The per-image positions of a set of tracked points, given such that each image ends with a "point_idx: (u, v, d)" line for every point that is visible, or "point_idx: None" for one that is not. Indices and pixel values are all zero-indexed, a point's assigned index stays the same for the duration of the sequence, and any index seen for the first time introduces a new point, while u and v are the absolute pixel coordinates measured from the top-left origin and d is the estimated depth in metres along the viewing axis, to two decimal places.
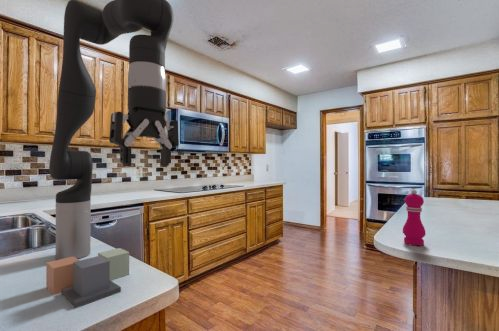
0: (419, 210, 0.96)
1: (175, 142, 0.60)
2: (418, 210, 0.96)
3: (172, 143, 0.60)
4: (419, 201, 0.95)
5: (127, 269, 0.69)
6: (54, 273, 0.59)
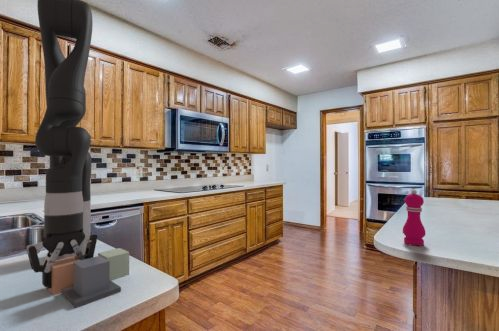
0: (419, 210, 0.96)
1: (89, 255, 0.66)
2: (418, 210, 0.96)
3: (86, 256, 0.66)
4: (419, 201, 0.95)
5: (127, 269, 0.69)
6: (54, 273, 0.59)
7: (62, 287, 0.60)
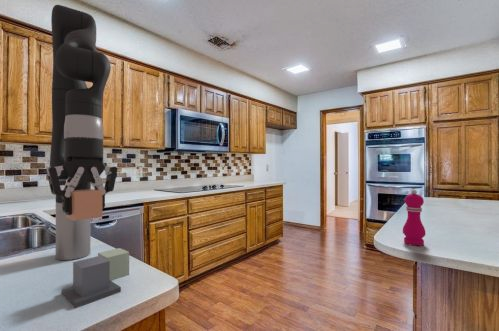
0: (419, 210, 0.96)
1: (109, 187, 0.63)
2: (418, 210, 0.96)
3: (106, 188, 0.63)
4: (419, 201, 0.95)
5: (127, 269, 0.69)
6: (75, 197, 0.56)
7: (83, 214, 0.57)
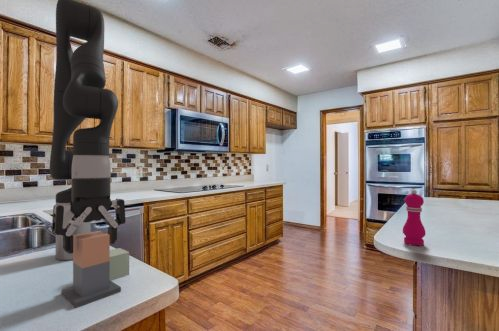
0: (419, 210, 0.96)
1: (121, 220, 0.64)
2: (418, 210, 0.96)
3: (118, 221, 0.64)
4: (419, 201, 0.95)
5: (127, 269, 0.69)
6: (83, 245, 0.56)
7: (90, 260, 0.57)
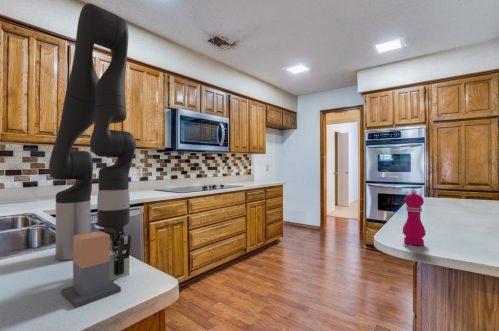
0: (419, 210, 0.96)
1: (117, 256, 0.65)
2: (418, 210, 0.96)
3: None
4: (419, 201, 0.95)
5: (127, 269, 0.69)
6: (83, 245, 0.56)
7: (90, 260, 0.57)
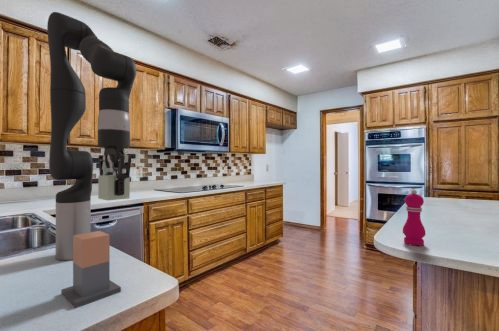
0: (419, 210, 0.96)
1: (118, 174, 0.65)
2: (418, 210, 0.96)
3: None
4: (419, 201, 0.95)
5: (127, 192, 0.69)
6: (83, 245, 0.56)
7: (90, 260, 0.57)
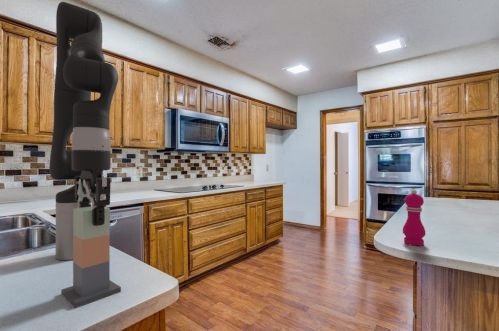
0: (419, 210, 0.96)
1: (96, 201, 0.55)
2: (418, 210, 0.96)
3: None
4: (419, 201, 0.95)
5: (107, 228, 0.60)
6: (83, 245, 0.56)
7: (90, 260, 0.57)
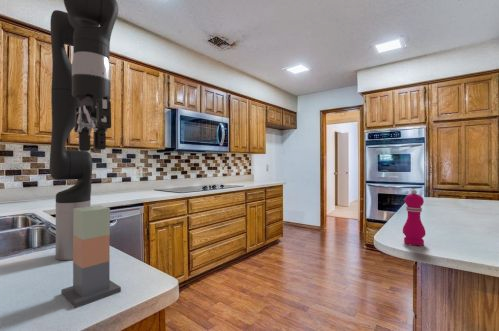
0: (419, 210, 0.96)
1: (97, 123, 0.55)
2: (418, 210, 0.96)
3: None
4: (419, 201, 0.95)
5: (107, 228, 0.60)
6: (83, 245, 0.56)
7: (90, 260, 0.57)
